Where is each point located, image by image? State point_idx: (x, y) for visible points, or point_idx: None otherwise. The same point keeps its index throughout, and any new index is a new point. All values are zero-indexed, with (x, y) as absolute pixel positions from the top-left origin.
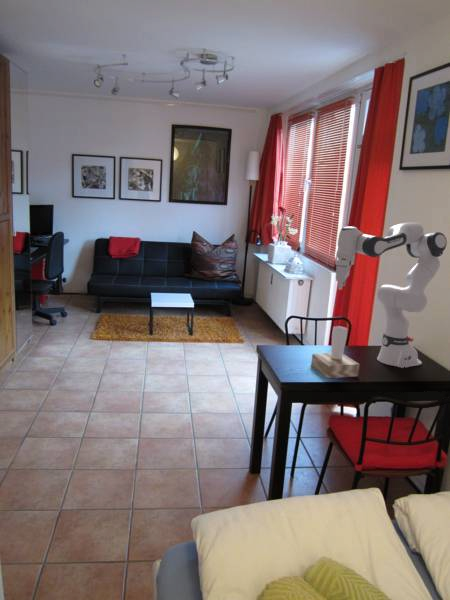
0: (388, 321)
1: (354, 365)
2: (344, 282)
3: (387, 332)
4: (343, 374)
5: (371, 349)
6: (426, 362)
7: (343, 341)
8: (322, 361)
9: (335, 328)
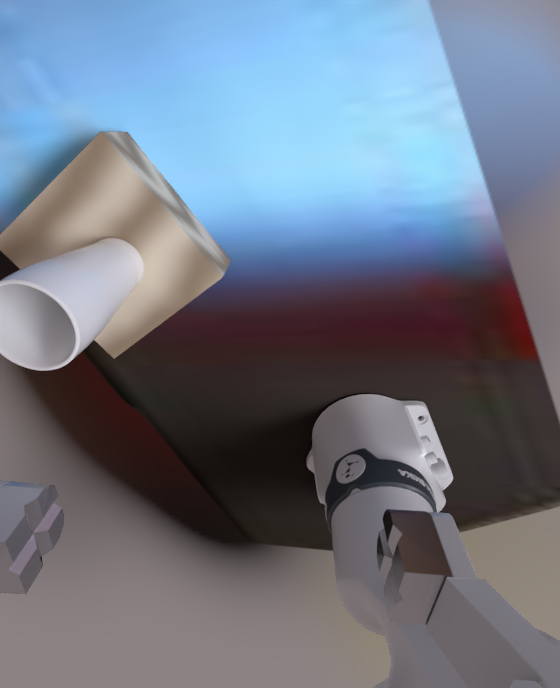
0: (365, 559)
1: (98, 339)
2: (434, 623)
3: (353, 508)
4: None
5: (490, 373)
6: None
7: (49, 325)
8: (32, 202)
9: (56, 289)
